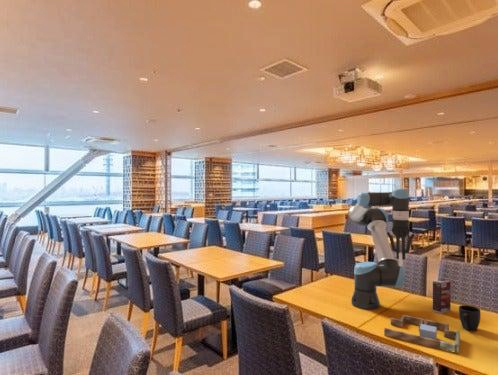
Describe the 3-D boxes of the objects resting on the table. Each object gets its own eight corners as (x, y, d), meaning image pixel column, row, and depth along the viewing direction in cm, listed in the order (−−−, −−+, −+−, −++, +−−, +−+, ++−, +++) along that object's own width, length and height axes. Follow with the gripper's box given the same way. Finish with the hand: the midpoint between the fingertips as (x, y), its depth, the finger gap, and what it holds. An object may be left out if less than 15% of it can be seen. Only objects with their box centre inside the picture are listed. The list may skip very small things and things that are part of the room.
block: (419, 340, 139) (419, 328, 139) (421, 334, 144) (421, 323, 144) (435, 344, 135) (435, 332, 135) (436, 338, 140) (436, 326, 140)
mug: (453, 331, 147) (453, 310, 147) (462, 323, 155) (462, 303, 155) (475, 337, 141) (474, 315, 141) (482, 329, 148) (482, 308, 148)
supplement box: (441, 314, 166) (440, 283, 166) (432, 310, 170) (431, 281, 170) (451, 311, 170) (451, 281, 170) (442, 308, 174) (442, 278, 174)
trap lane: (384, 335, 143) (384, 327, 143) (394, 318, 161) (394, 311, 161) (458, 353, 127) (458, 344, 127) (460, 333, 145) (460, 325, 144)
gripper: (385, 219, 163) (385, 265, 163) (413, 220, 155) (414, 269, 155) (388, 217, 169) (388, 262, 169) (416, 219, 161) (416, 265, 161)
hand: (401, 265), depth 162 cm, fingers closed
